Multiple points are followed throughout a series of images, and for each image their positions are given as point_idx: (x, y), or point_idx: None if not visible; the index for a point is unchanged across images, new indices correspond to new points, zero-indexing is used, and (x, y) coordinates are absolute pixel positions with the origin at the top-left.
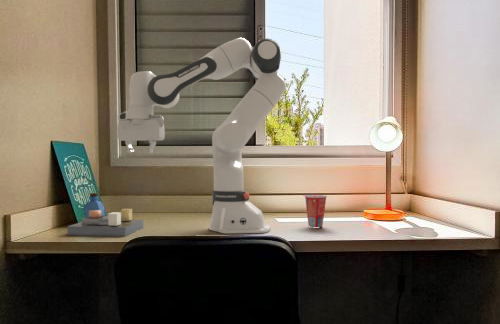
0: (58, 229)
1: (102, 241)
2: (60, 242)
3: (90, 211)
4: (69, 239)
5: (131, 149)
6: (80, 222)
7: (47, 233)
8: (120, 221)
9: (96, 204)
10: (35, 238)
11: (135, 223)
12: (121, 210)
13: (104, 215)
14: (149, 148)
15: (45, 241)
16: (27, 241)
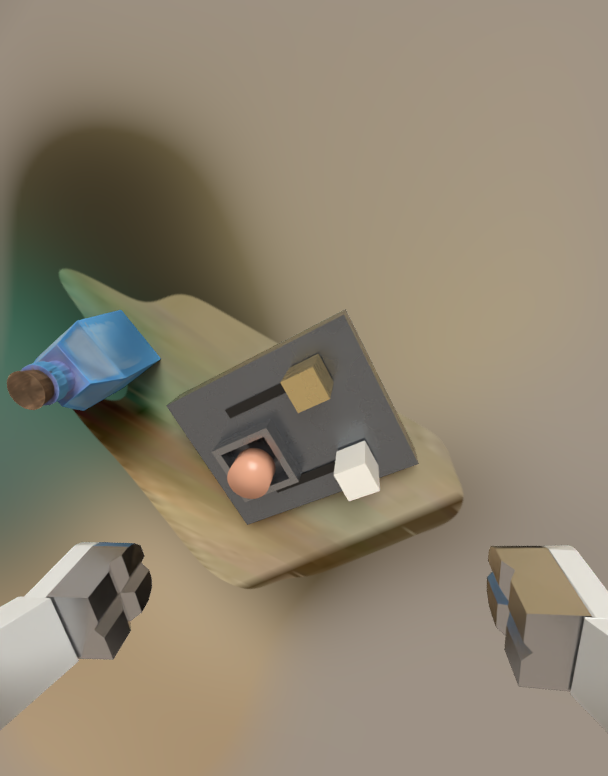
0: (151, 470)
1: (407, 514)
2: (322, 560)
3: (248, 497)
4: (308, 533)
5: (122, 620)
6: (213, 471)
7: (188, 514)
8: (366, 448)
9: (99, 384)
10: (229, 557)
11: (381, 388)
12: (301, 410)
13: (104, 315)
14: (584, 682)
15: (282, 566)
16: (249, 580)
